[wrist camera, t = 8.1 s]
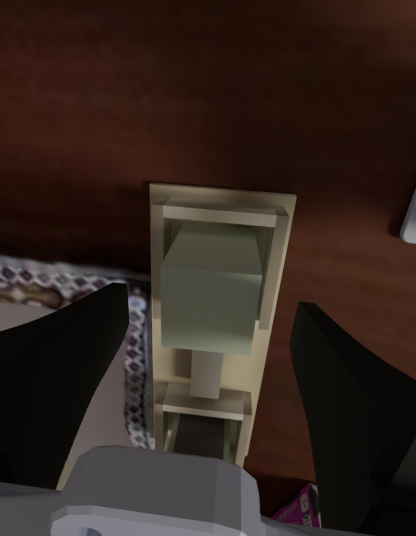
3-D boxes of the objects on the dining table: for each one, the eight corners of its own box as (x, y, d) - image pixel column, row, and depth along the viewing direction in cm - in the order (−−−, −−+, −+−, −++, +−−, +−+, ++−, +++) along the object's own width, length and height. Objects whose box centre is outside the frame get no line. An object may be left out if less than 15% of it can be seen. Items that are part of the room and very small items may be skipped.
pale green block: (254, 228, 17) (262, 275, 12) (245, 295, 19) (248, 362, 14) (184, 222, 17) (160, 266, 12) (182, 289, 19) (161, 353, 14)
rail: (295, 194, 17) (327, 231, 11) (246, 450, 26) (249, 544, 20) (151, 182, 17) (107, 212, 11) (155, 438, 26) (132, 527, 21)
